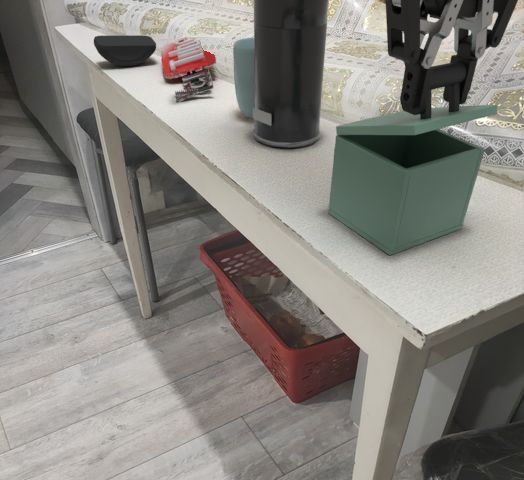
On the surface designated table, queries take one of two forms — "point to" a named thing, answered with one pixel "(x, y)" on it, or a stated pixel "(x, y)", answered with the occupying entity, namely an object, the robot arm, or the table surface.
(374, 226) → the green storage box
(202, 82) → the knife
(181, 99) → the logo
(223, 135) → the table surface
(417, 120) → the green square slab
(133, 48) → the computer mouse
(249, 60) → the cup
